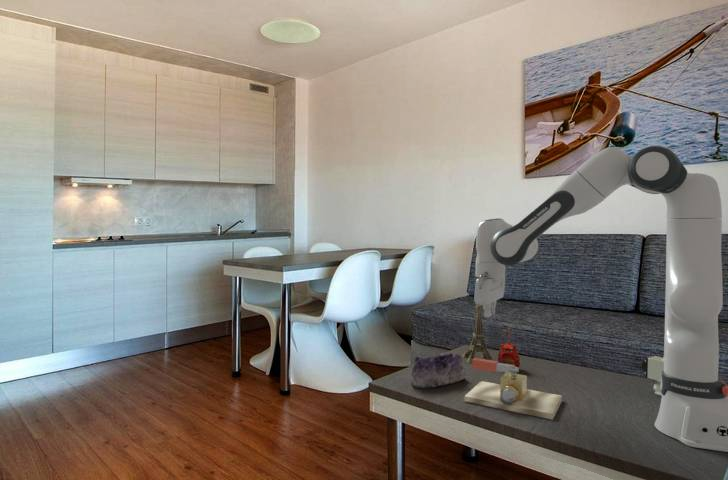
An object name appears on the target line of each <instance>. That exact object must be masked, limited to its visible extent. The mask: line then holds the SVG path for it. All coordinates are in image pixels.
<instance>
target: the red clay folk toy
mask: <svg viewBox="0 0 728 480" xmlns="http://www.w3.org/2000/svg"><path fill="white" fill-rule="evenodd" d="M507 327H508V328H507V330H506V329H502V333H506V332H507V338H508V339H507V344H505V343H502V344H501V345H500V348H499V350H498V354H497V361H498V363H503V364H509V365H515V367H518V368H519V369H520V367H521V361H520V359H521V358H520V354H519V352H518V350H517V346H516V345H515V344H511V341H510V338H511V335H510V330H511V329H510V326H509V325H508V326H507Z"/></svg>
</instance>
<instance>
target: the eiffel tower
mask: <svg viewBox="0 0 728 480" xmlns="http://www.w3.org/2000/svg"><path fill="white" fill-rule="evenodd" d="M475 309H476V314H475V315H476V316H475V324H474V331H473V332H472V336H473V338H472V340H471V342H470V343H469V346H468V347H467V349H466V350H465V351H464V352H463V354H461V355H460V356H461V357H462V358H466V359H467V360H465V362H466V363H467V364H472V360H473V359H474V358H476V357H475V356H476V353H479V352H481V355H480V356H481V358H482V359H486V360H493V361H494V358H493V357H492V355H491V353H490V351H489V350H488V349H487V348H488V347H487V345H486V342H485V339H484V338H485V334H484V332H483V321H482V309H483V306H482V305H477V304H475ZM478 340H479V343H478Z"/></svg>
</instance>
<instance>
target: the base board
mask: <svg viewBox="0 0 728 480" xmlns="http://www.w3.org/2000/svg"><path fill="white" fill-rule="evenodd" d="M463 399H464V400H463V401H464V402H466V403H471V404H476V405H481V406H485V407H488V408H489V407H490V408H495V409H500V410H505V411H509V412H514V413H519V414H524V415H529V416H534V417H538V418H543V419H549V420H552V421H553V420H554V418H555V416H556V414H557V411H558V410H559V408H560V406H561V404H562V401H563V395H560V394H554V393H551V392H545V391H544V392H543V391H540V390H539V391H538V390H533V389H527V395H526V396H525V397H524V399H523V400H522V401H517V400H516V402H512V403H511V404H510V405H506V404H504V403H503V402H502V401H501V399H500V384H499V383H494V382H488V381H483V380H480V381H479V382H478V383H477V384H476V385H475V386H474V387H473V388H471V390H470V391H469V392H468V393H466V394H465V395H464V398H463Z"/></svg>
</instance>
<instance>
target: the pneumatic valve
mask: <svg viewBox="0 0 728 480" xmlns="http://www.w3.org/2000/svg"><path fill="white" fill-rule="evenodd" d="M640 365H641V366H640V368H641V372H643V373H644V375H645V376H644V377H645V378H647V379H650V380H655V381H657V383H654V384H653V391H654V394H655V395H656V396H659V397H662V393H661V374H662V371H663V370H664V355H663V357H661V356H657V355H651V356H645V358H644V359H642V362H641V364H640Z"/></svg>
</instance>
